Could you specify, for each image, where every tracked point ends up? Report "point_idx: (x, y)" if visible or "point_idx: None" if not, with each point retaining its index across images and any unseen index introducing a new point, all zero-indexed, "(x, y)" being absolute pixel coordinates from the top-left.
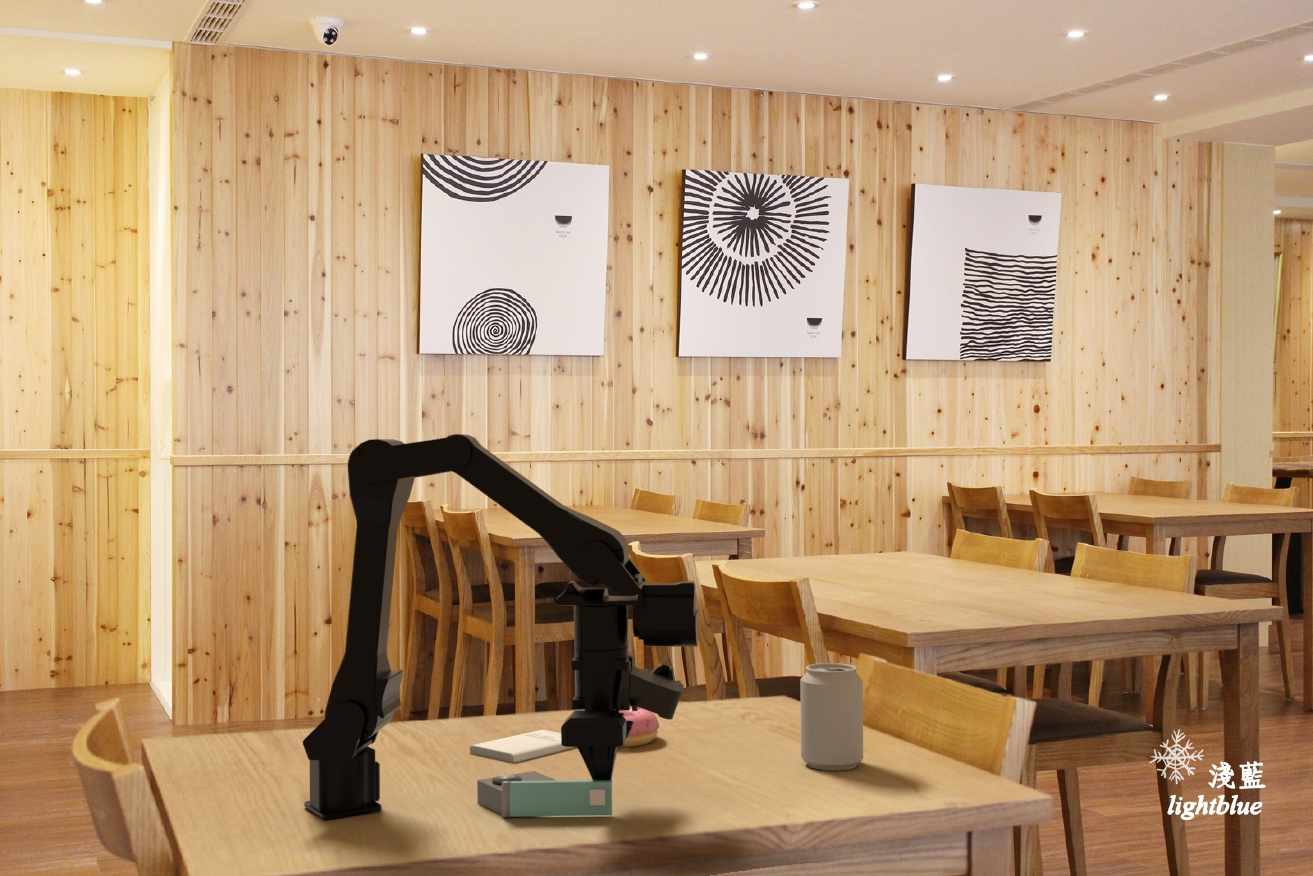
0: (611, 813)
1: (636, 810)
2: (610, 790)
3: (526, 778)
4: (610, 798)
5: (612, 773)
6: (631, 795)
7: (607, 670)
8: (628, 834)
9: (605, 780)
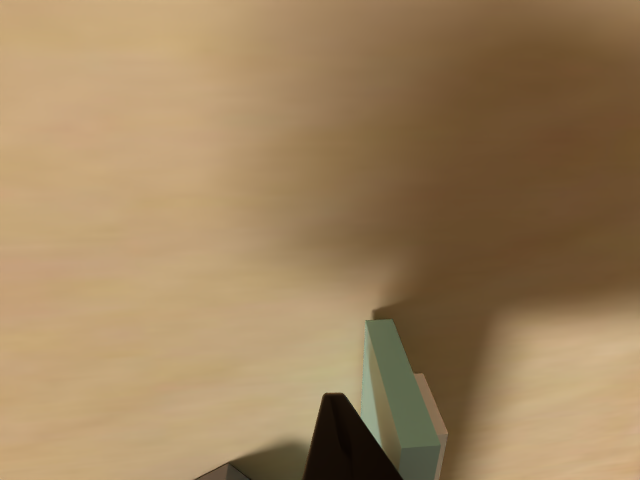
0: (394, 325)
1: (282, 228)
2: (424, 407)
3: None
4: (412, 375)
5: (343, 476)
6: (13, 261)
7: None
8: (630, 244)
9: (404, 471)
